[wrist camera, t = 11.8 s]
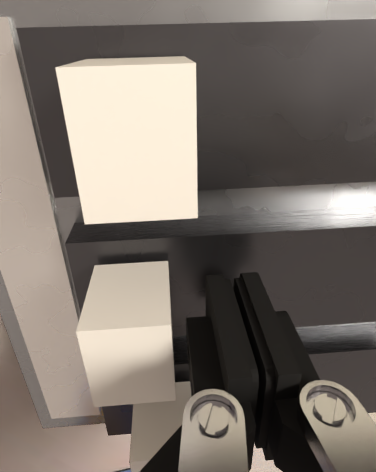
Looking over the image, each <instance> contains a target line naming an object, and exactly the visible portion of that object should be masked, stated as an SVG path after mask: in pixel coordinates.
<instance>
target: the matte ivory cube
mask: <svg viewBox="0 0 376 472" xmlns="http://www.w3.org/2000/svg"><path fill="white" fill-rule="evenodd" d="M76 334H77V338H78V342H79V346H80V350H81V354H82V359H83V363H84V367H85V371H86V375H87V379H88V383H89V387H90V392H91V396H92V400H93V404H94V407H103V406H115V405H127V404H140V403H152V402H164V401H176V393H175V373H174V353H173V333H172V316H171V299H170V283H169V266H168V261H157V262H140V263H124V264H107V265H95V266H94V269H93V273H92V276H91V280H90V284H89V287H88V291H87V294H86V298H85V301H84V305H83V309H82V312H81V316H80V319H79V323H78V326H77V330H76Z"/></svg>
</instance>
